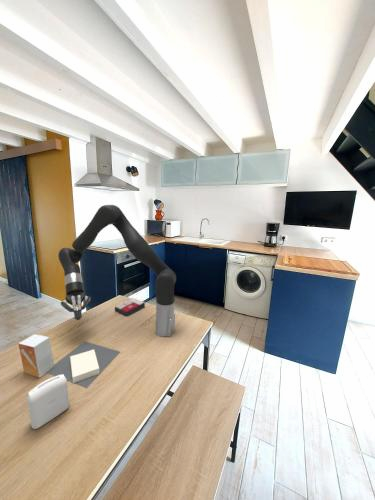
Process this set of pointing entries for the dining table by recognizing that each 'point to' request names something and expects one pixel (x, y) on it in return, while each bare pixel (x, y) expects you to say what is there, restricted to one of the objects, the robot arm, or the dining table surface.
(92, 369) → the cream tile
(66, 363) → the charcoal mat
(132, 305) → the red and black box
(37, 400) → the photo printer
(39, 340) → the small box
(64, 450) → the dining table surface
